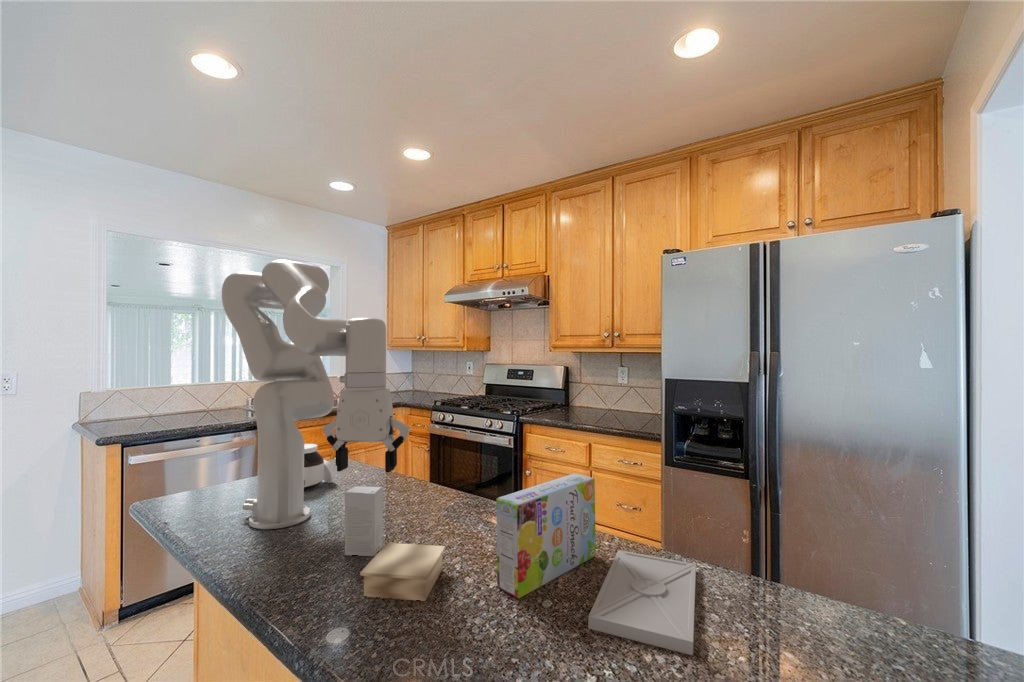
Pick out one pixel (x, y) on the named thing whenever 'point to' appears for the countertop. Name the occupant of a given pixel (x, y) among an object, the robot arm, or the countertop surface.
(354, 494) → the skincare box
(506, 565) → the snack box
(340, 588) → the countertop surface
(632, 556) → the envelope
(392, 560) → the pedestal
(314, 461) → the spread jar
